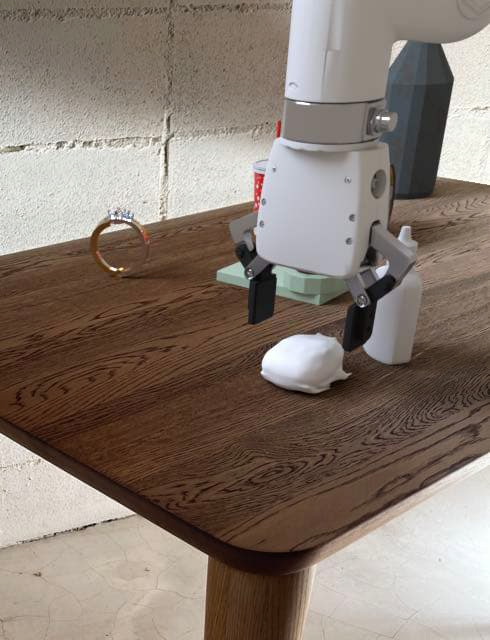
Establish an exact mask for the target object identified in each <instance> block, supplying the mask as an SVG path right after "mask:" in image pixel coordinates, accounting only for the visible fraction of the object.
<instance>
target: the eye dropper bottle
mask: <svg viewBox="0 0 490 640" xmlns="http://www.w3.org/2000/svg"><path fill="white" fill-rule="evenodd" d="M396 238H397V239H398V240H400V241H401V242H402V243H403V244H404V245H405V246H407V247H408V248H409V249H410V250H411V251H413V252H414V253H415V254H416V255H417V254H418V253H417V252H418V247H419V243H418V242H417V241H416V240H413V238H412V227H411V226H410V225H409V226H408V225H403V226H402V227H401V230H400V233H399V235H398V237H396ZM415 265H416V263H415V264H414V266H413V267H412V268H411V270H410V271H409V272H408V274H407V275H406V276H405V277H404V278H403V280H402V282H401V284H400V285H399V286H398V287H396V288H395V289H393V290H392V291H391V292H389V293H388V294H386V295H385V296H384V297H383V298H382V299H380V300H378V302H377V308H376V314H375V320H374V326H373V332H372V335H371V337H370V339H369V340H367V342H366V343H365V344H364V345H362V346H363V350H364V352H365V353H366V354H367V355H368V356H369V357H370V358H372V359H373V360H375V361H377V362H379V363H381V364H385V365H387V366H394V365H395V366H396V365H402V364H407V363H409V362H410V361H411V358H412V352H413V348H414V347H413V346H414V341H415V336H416V330H417V324H418V319H419V315H420V309H421V302H422V296H423V290H424V289H423V286H424V285H423V282H422V279H421V277H420V275H419V273H418V272H417V270H416V269H415ZM388 268H389V261H388V260H387V259H386V265H382V266H379V267H377V268H376V273H377V275H378V277H379V279H380V278H382V277H383V276H384V275H385V273H386V272H387V270H388Z"/></svg>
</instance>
